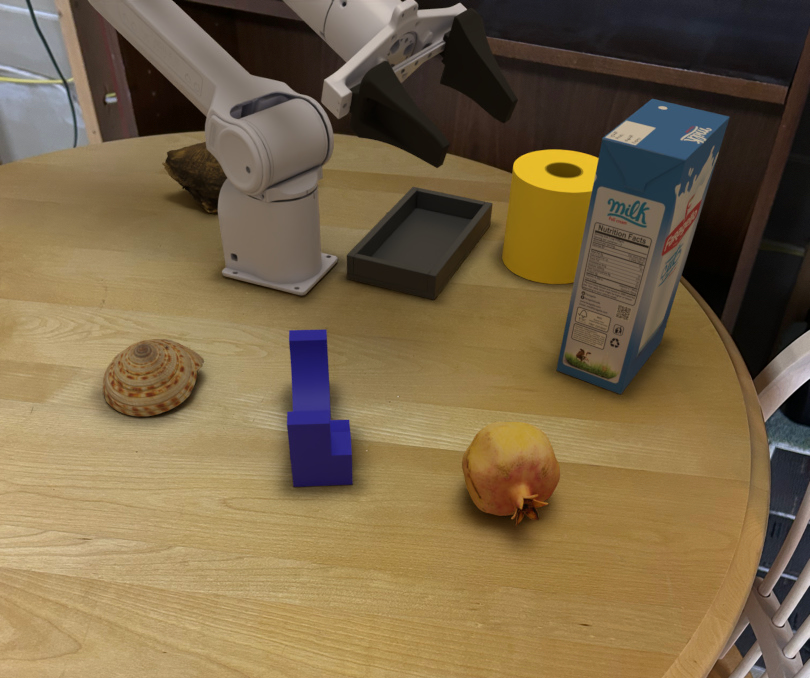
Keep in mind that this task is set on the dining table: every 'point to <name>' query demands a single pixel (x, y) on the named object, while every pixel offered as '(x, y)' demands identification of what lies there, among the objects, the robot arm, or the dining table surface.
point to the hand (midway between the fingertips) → (478, 133)
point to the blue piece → (315, 417)
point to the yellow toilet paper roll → (548, 214)
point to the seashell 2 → (197, 174)
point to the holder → (419, 242)
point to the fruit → (510, 469)
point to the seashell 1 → (151, 377)
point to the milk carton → (637, 239)
